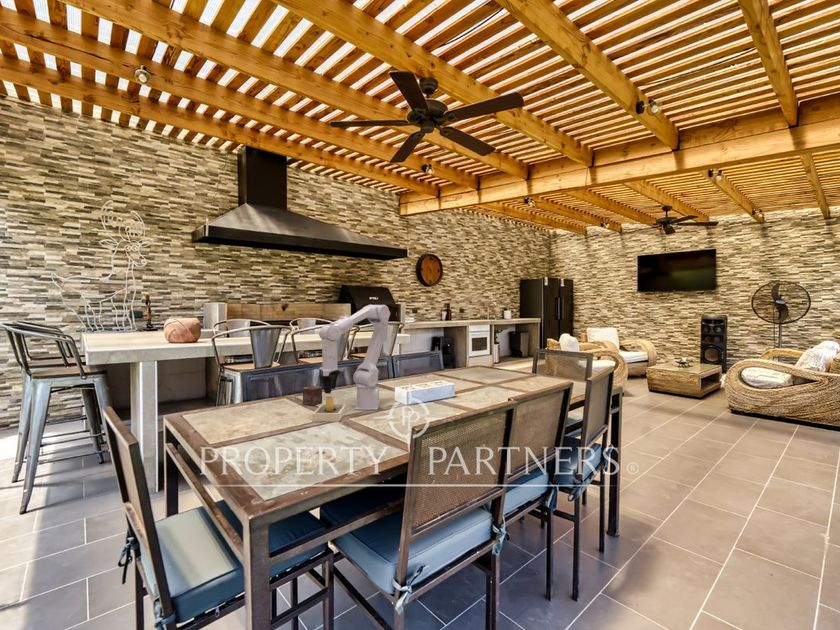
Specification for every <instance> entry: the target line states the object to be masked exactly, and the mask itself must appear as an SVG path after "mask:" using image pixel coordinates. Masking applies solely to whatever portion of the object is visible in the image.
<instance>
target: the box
mask: <svg viewBox="0 0 840 630" xmlns="http://www.w3.org/2000/svg"><path fill="white" fill-rule="evenodd" d="M321 404H323V386H318V385H317V386H316V385H310V386H306V387H302V405H304V406H311V407H315V406H317V405H321Z"/></svg>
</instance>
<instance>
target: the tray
mask: <svg viewBox="0 0 840 630" xmlns="http://www.w3.org/2000/svg"><path fill="white" fill-rule="evenodd" d="M322 407H326V403H321V404H319V407H317V408H316V409H315V411H313V413H312V422H315V423H317V422H321V423H323V422H324V423H325V422H329V423H331V422H333V423H334V422H335V423H337V422H339V423H340V421H341V420H342V419H343V417H344V416H345V414H346V413H347V403H342V404H341V403H334V407H342V408H341V409H340V411H339V412H338V413H318V412H319V410H320V409H321V408H322Z"/></svg>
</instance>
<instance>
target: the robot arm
mask: <svg viewBox="0 0 840 630" xmlns="http://www.w3.org/2000/svg"><path fill="white" fill-rule="evenodd" d="M390 316H391V312H390V310H389V307H388V306H387V305H386V304H368V305H365V306H363V307H362V308H361V309H360V310H357V311H356V312H355V313H353V314H352V315H351V316H346V315H345V316H344V315H343V316H342V315H341V316H339V319H337V320H335V321H331V322H330V323H329V325H328V324H327V325H326V324H325V325H323V326H321V328H320V331H319V332H318V335H319V338H320V339H321V344H322V347H321V351H322V352H321V353H322V355H321V356H322V359H321V361H322V365H321V367H319V368H318V369H319V370H321V371H322V374H320V375H319V379H320V382H321V383H322V388H323V391H324V393H325V394H326V395H327V394H331V393H332V390H336V387H337V380H338V377H339V374H340V373H341V370H339V367H338V340H340V337H341V336H342V335H343V334H346V332H349V331H351V330H352V329H353V326H354V325H355V324H357V323H358V322H361V321H364V320H366V319H367V320H368V321H369V322H370V323H371V325H372V326H373V328H374V329H373V331H372V332H373V333H372V335H371V336H370V337H371V338H370V341H369V344H368V346H367V350H366V354H365V356H364V359H363V362H362V363H361V364H359V365H358V366H357V369H356V371H355V372H354V374H353V377H352V378H353V382H354V383H355V387H356V406H355V408H354V410H356V411H357V410H360V411H365V410H366V411H368V410H369V411H370V410H373V411H375V410H376V411H377V410H379V407H380V403H381V402H380V401H381V400H380V387H379V386H376V385H377V384H378V381H379V373H380V371H379V369H378V368H377V363H378V361H379V357H380V354H381V352H382V347H383V345H384V341H385V339H386V336H387V332H388V329H389V319H390Z"/></svg>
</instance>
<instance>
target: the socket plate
mask: <svg viewBox="0 0 840 630" xmlns="http://www.w3.org/2000/svg"><path fill="white" fill-rule="evenodd" d="M341 408H342V407H334V412H326V407H322V408H321V409H320V410H319V412H318V413H338V412H339V411H340V409H341Z"/></svg>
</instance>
